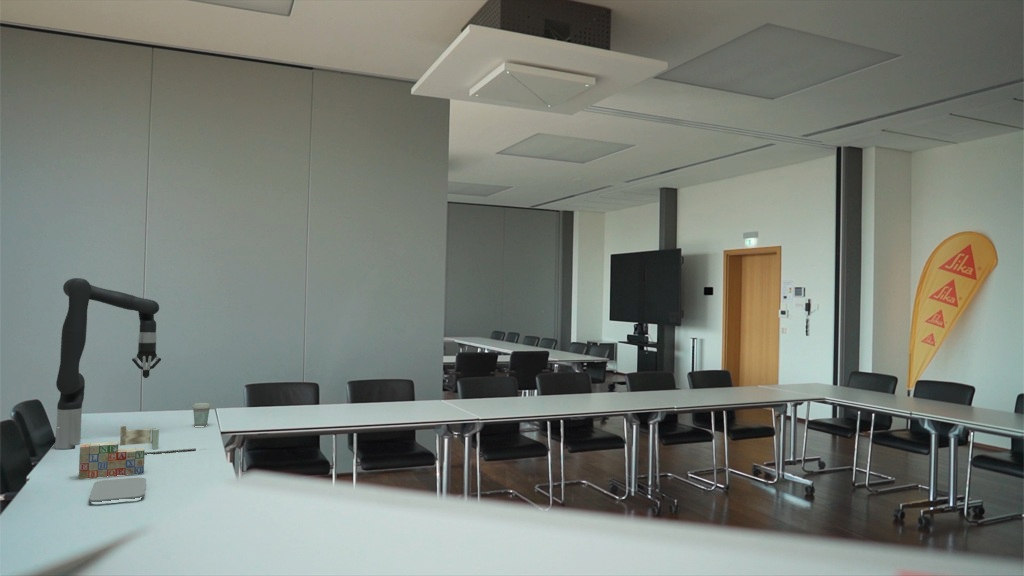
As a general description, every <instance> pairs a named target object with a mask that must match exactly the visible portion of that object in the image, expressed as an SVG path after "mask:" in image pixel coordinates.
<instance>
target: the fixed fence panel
mask: <svg viewBox="0 0 1024 576" xmlns="http://www.w3.org/2000/svg"><path fill="white" fill-rule="evenodd" d="M119 439H120V441H119V445H120V446H130V445H145V444H152V443H151V442H152V428H143V429H128V430H127V425H121V426H120V438H119Z"/></svg>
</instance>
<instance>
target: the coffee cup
mask: <svg viewBox="0 0 1024 576" xmlns="http://www.w3.org/2000/svg"><path fill="white" fill-rule="evenodd" d="M192 408H193V409H192V411H193V423H194V427H195V426H206V425H207V426H208V421H209V414H210V409H211V404H210V402H195V403H193V405H192ZM207 426H206V427H207Z"/></svg>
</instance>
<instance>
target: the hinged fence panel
mask: <svg viewBox="0 0 1024 576" xmlns="http://www.w3.org/2000/svg"><path fill="white" fill-rule="evenodd" d="M159 434H160V429H159V428H156V427H152V428H151V443H150V444H152V450H158V449H159V436H160V435H159Z"/></svg>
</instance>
